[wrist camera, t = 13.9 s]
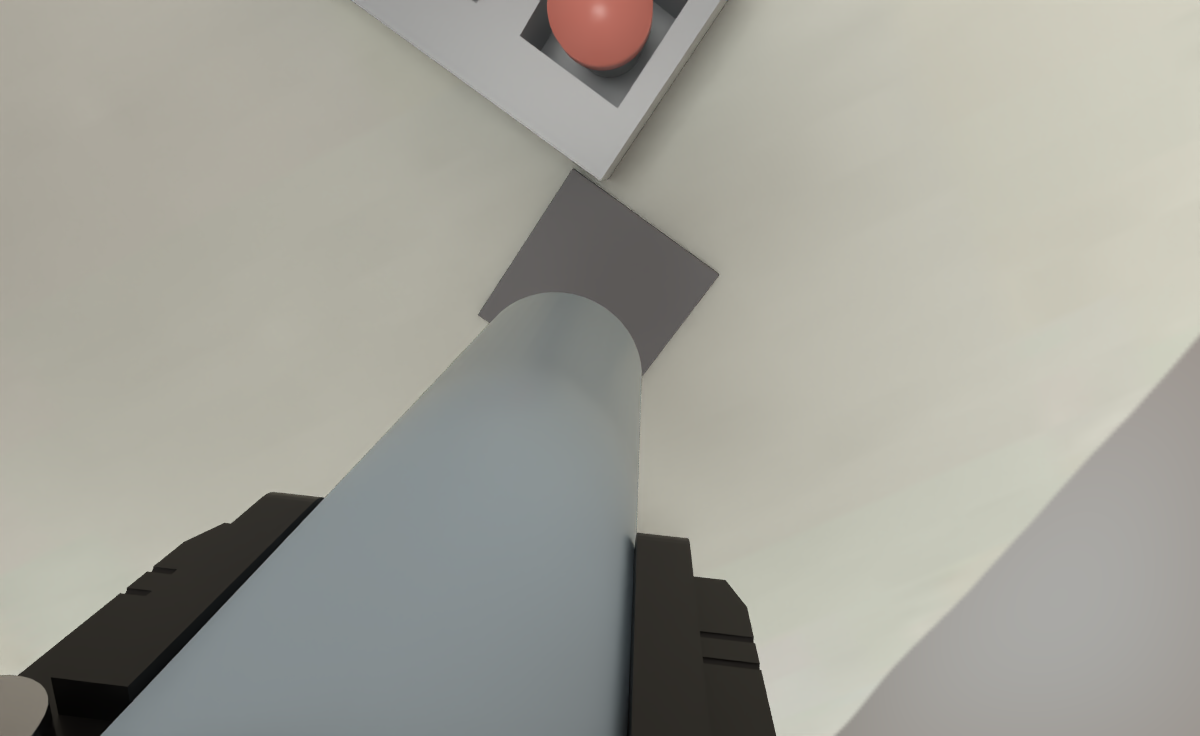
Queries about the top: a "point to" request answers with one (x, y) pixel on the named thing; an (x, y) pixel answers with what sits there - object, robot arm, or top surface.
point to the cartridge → (448, 562)
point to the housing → (551, 67)
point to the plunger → (602, 32)
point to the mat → (607, 266)
